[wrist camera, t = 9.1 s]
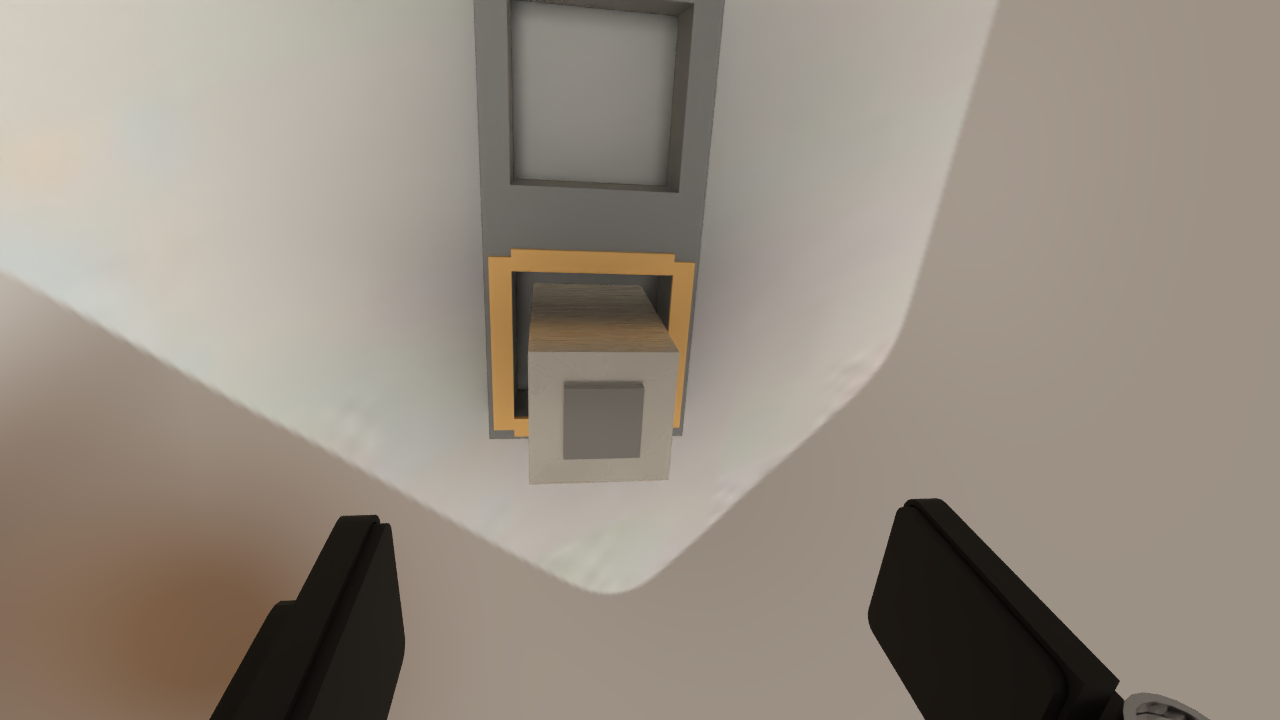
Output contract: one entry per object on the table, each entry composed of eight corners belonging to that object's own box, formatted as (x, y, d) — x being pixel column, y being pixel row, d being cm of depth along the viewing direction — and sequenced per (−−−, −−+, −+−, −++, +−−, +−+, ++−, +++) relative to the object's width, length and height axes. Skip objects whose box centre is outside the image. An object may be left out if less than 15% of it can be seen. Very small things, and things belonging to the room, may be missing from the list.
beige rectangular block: (533, 283, 24) (527, 355, 17) (640, 285, 25) (681, 356, 18) (534, 382, 26) (529, 489, 18) (634, 382, 27) (670, 484, 19)
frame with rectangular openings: (480, -38, 20) (470, -60, 18) (708, -13, 21) (729, -32, 19) (494, 411, 26) (489, 441, 24) (670, 409, 28) (682, 438, 25)
